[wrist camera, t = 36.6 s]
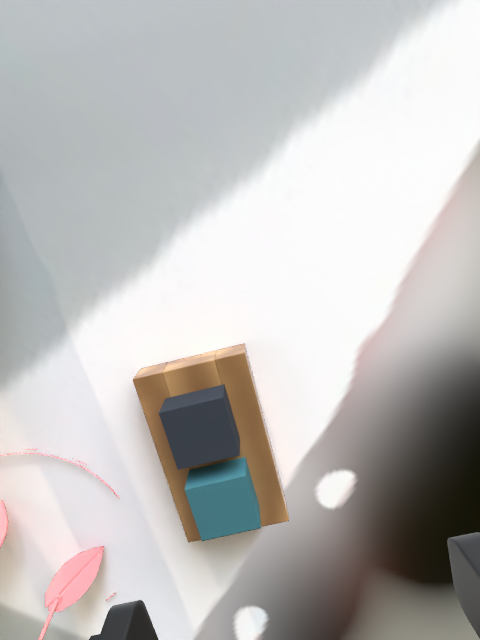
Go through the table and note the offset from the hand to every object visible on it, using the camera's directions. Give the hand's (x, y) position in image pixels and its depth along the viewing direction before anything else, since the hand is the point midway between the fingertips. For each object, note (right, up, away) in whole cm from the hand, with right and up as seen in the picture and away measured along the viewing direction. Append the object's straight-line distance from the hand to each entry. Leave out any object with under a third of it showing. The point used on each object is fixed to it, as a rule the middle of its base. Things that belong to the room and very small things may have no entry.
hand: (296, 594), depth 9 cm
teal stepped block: (-3, -10, +31) cm, 33 cm away
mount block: (-4, -6, +30) cm, 31 cm away
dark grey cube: (-5, -2, +29) cm, 30 cm away
